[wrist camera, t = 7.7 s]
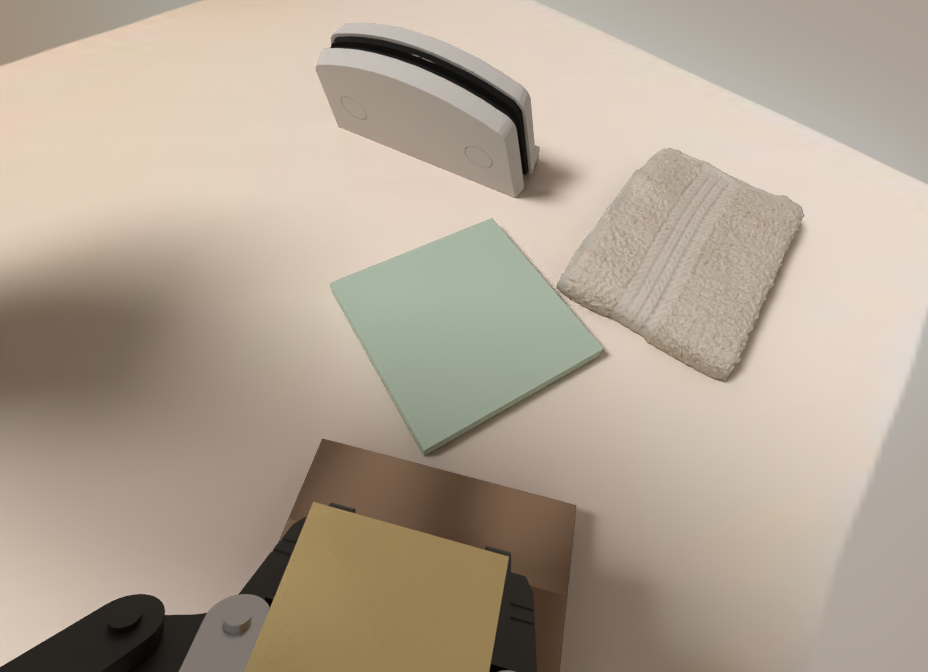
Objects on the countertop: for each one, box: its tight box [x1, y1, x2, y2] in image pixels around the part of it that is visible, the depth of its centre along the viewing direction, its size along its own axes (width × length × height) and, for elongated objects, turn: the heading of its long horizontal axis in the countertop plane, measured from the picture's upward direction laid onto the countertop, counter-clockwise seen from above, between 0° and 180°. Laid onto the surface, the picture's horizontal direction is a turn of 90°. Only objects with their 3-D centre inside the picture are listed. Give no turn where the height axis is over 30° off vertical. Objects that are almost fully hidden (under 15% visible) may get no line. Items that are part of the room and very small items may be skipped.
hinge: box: [316, 23, 540, 198], centre depth 32 cm, size 17×5×10 cm, turn 62°
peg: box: [244, 502, 509, 672], centre depth 11 cm, size 4×4×9 cm
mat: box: [330, 218, 604, 456], centre depth 27 cm, size 12×12×1 cm
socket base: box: [279, 439, 576, 672], centre depth 18 cm, size 12×12×2 cm
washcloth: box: [557, 148, 804, 381], centre depth 31 cm, size 12×18×3 cm, turn 145°
